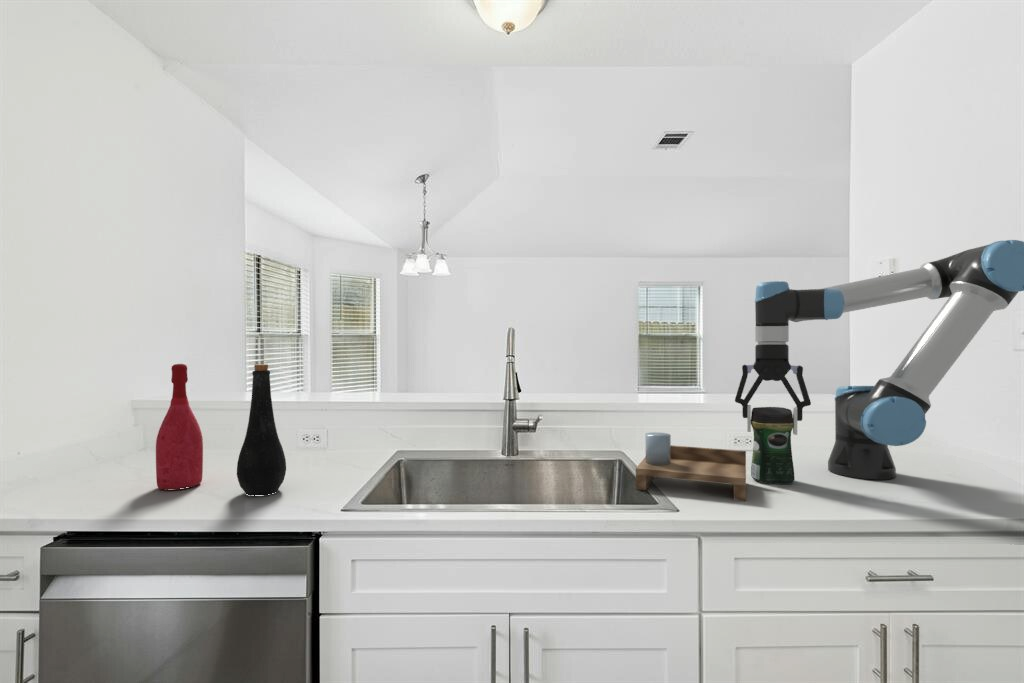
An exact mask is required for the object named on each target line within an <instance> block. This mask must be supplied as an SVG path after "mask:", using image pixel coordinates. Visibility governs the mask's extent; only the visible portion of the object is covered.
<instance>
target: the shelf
mask: <svg viewBox="0 0 1024 683" xmlns="http://www.w3.org/2000/svg"><path fill="white" fill-rule="evenodd" d="M746 452H747V450H738V449H727V448H726V449H723V448H712V447H697V446H685V445H684V446H683V445H671V464H669V465H651V464H647V463H646V456H645V457H643V459H642V460H641V461H640V462H639V464H638V465H637V466H636V467H635V490H638V491H639V490H641V491H647V489H648V488H649V487H650V485H651V483H652V482H653V481H654V479H655V477H656V478H657V477H658V478H665V479H666V478H668V479H676V480H677V479H679V480H689V481H699V482H707V483H709V482H710V483H717V484H718V483H719V484H729V485H733V500H734V501H738V502H739V501H741V502H746V501H747V500H746V499H747V498H746V495H747V490H746V489H747V486H746V485H747V482H746V481H747V469H746V468H747V467H746V466H747V456H746V454H747V453H746Z"/></svg>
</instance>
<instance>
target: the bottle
mask: <svg viewBox="0 0 1024 683" xmlns="http://www.w3.org/2000/svg"><path fill="white" fill-rule="evenodd" d="M253 366H254V370H253V371H252V372H251V374H252V384H251V385H252V386H251V387H252V388H251V399H250V408H249V416H248V422H247V427H246V428H247V429H246V432H245V436H244V440H243V444H242V446H241V449H240V451H239V455H238V458H237V459H238V460H237V464H236V477H237V480H238V484H239V486H240V488H241V490H242V491H244V494H245V493H246V494H248V495H254V496H255V495H268V494H272V493H275V492H277V491H278V492H279V489H280V488H281V485H282V484H283V483H284V480H285V476H286V472H287V461H286V455H285V452H284V449H283V446H282V443H281V441H280V439H279V435H278V432H277V426H276V422H275V415H274V408H273V402H272V392H271V390H272V388H271V377H270V376H271V375H270V374H271V370H268V369H269V364H268V363H267V364H263V363H262V364H254V365H253ZM278 492H277V493H278ZM275 494H276V493H275ZM272 495H273V494H272ZM268 496H269V495H268Z"/></svg>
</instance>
